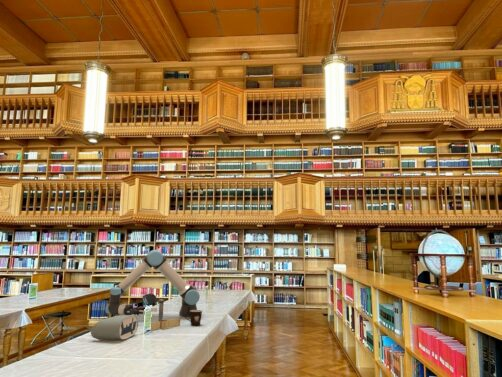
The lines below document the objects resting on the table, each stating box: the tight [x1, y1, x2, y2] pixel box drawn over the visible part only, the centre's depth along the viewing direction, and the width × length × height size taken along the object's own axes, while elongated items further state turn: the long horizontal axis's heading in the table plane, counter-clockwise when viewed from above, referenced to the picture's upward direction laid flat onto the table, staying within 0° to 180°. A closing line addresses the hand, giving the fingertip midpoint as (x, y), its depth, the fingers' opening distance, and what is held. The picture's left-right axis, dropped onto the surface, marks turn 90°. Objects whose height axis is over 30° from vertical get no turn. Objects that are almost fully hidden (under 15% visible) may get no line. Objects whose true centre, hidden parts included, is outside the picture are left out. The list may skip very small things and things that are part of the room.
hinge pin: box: [158, 298, 165, 321], centre depth 272 cm, size 4×4×17 cm
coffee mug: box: [184, 309, 203, 327], centre depth 270 cm, size 12×9×10 cm
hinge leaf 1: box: [150, 320, 169, 331], centre depth 254 cm, size 16×6×5 cm, turn 137°
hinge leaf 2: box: [160, 317, 181, 330], centre depth 262 cm, size 16×6×5 cm, turn 137°
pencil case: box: [90, 314, 139, 341], centre depth 230 cm, size 22×19×13 cm
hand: (152, 311), depth 273 cm, fingers open, 13 cm apart
